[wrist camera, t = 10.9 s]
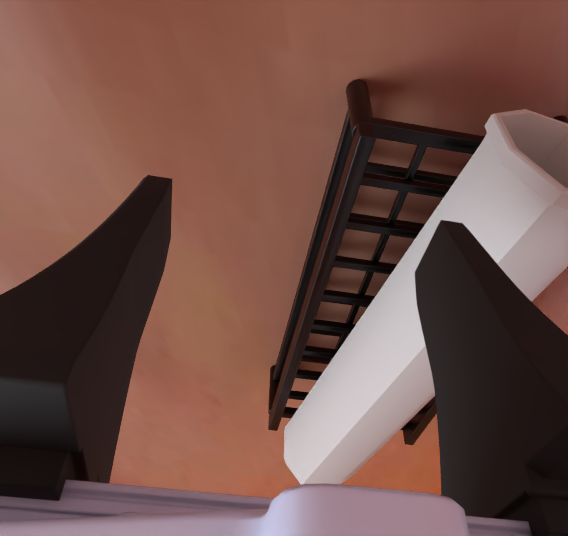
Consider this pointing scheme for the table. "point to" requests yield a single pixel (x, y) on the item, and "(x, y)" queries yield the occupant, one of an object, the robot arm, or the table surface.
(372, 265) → the shoe rack
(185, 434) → the table surface
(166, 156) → the table surface
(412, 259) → the tube
